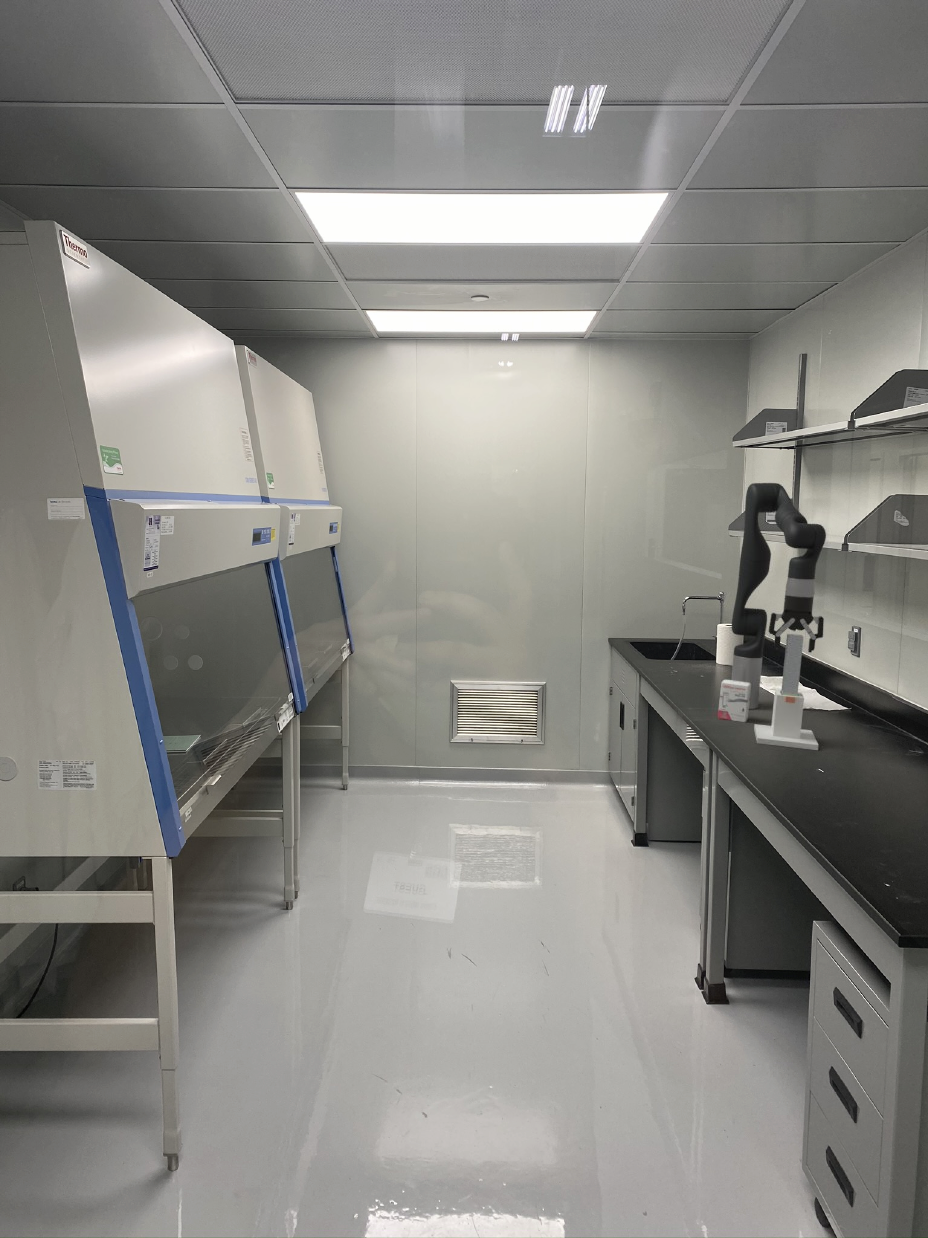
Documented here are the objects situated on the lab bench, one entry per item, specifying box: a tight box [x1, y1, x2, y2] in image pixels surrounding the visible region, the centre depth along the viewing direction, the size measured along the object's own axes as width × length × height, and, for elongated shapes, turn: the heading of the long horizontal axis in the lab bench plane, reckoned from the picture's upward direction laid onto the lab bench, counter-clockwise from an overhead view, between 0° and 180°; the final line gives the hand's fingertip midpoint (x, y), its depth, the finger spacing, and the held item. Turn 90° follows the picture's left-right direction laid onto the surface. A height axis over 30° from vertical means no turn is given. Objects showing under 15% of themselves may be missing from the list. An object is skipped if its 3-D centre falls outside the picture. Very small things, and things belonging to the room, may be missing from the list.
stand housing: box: [753, 689, 819, 751], centre depth 234 cm, size 16×16×14 cm
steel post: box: [780, 633, 804, 696], centre depth 233 cm, size 4×4×22 cm
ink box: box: [717, 679, 751, 723], centre depth 256 cm, size 9×5×12 cm, turn 62°
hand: (793, 650), depth 232 cm, fingers open, 8 cm apart
